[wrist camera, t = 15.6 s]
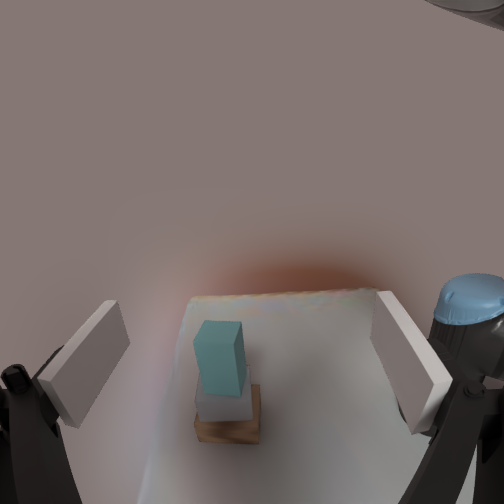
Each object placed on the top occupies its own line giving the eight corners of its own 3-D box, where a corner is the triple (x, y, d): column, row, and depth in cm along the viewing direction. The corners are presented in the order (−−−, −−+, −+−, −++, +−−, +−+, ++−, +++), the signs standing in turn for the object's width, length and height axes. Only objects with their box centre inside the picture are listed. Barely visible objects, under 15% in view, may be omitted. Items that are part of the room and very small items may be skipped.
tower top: (251, 385, 45) (249, 365, 43) (252, 420, 38) (251, 399, 36) (204, 387, 45) (200, 366, 43) (200, 421, 37) (194, 401, 36)
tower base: (260, 402, 46) (259, 384, 45) (259, 444, 38) (257, 427, 36) (208, 402, 47) (204, 384, 45) (199, 441, 38) (193, 424, 37)
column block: (246, 373, 41) (241, 321, 39) (240, 396, 37) (233, 344, 34) (213, 370, 42) (204, 320, 39) (204, 393, 38) (193, 341, 35)
